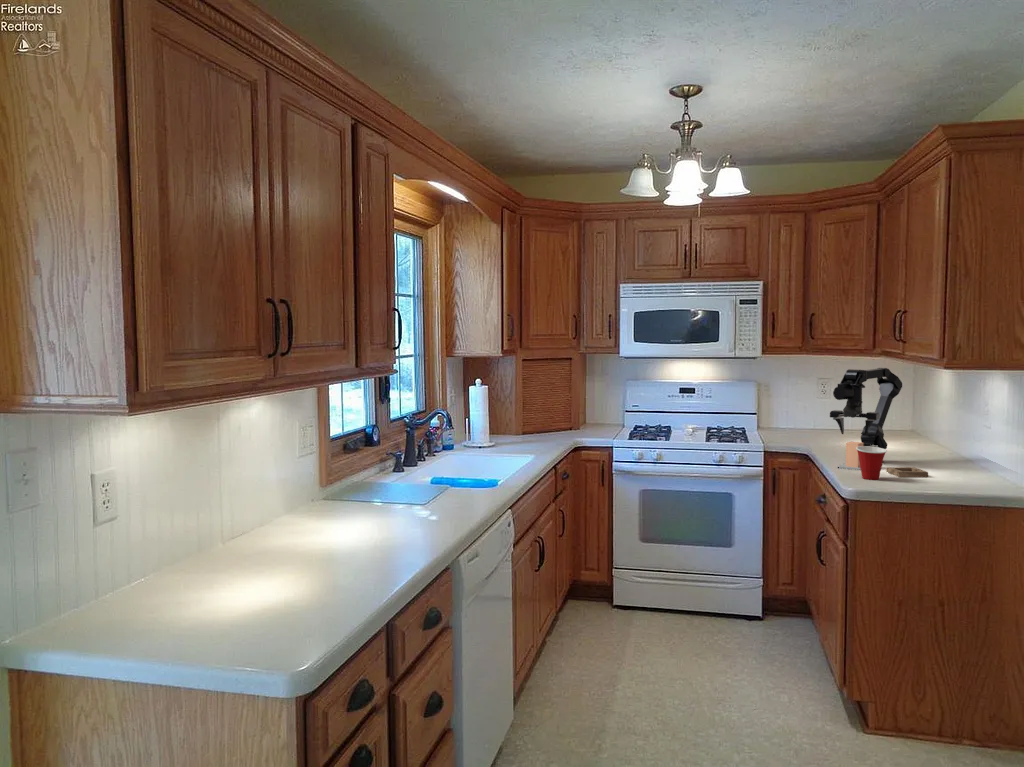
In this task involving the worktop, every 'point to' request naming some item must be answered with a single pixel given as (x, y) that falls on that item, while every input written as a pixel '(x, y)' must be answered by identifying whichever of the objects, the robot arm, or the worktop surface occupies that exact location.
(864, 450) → the plastic cup
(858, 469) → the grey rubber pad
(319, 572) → the worktop surface
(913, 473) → the walnut well board
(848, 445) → the terracotta block
